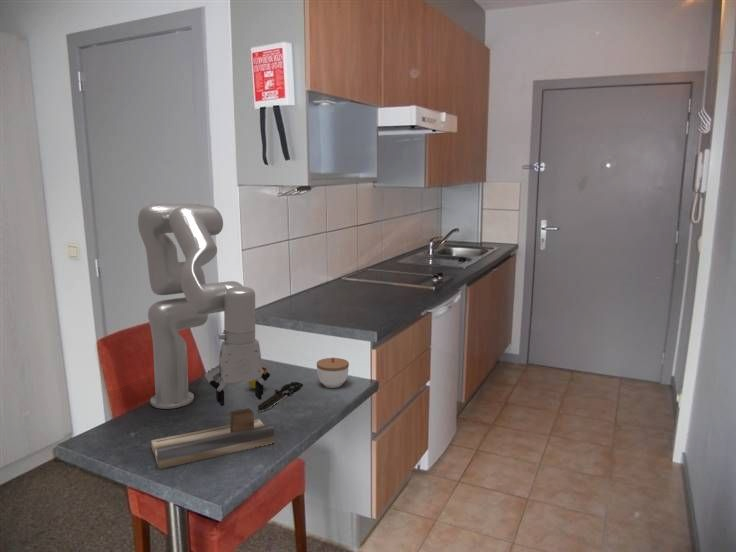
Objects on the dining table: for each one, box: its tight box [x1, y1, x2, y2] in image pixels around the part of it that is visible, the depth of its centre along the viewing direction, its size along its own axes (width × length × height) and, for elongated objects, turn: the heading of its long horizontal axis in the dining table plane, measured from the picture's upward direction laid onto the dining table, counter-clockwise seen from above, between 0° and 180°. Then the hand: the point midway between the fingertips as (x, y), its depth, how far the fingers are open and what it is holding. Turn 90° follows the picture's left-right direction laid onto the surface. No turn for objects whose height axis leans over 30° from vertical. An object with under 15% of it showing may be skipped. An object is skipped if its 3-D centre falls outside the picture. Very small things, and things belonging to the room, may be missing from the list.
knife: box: [257, 381, 304, 412], centre depth 171 cm, size 25×6×1 cm, turn 154°
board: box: [150, 418, 275, 470], centre depth 139 cm, size 13×28×4 cm, turn 119°
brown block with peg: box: [229, 407, 255, 433], centre depth 142 cm, size 9×5×6 cm, turn 29°
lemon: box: [248, 369, 265, 389], centre depth 177 cm, size 6×6×8 cm
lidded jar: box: [316, 357, 350, 389], centre depth 183 cm, size 11×11×9 cm
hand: (240, 400), depth 139 cm, fingers open, 9 cm apart
